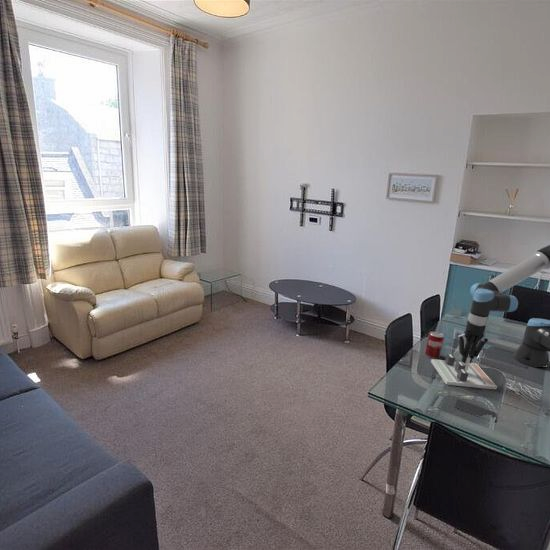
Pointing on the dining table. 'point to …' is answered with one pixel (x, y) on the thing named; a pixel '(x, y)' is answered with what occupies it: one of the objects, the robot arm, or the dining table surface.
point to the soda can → (434, 344)
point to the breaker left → (450, 359)
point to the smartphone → (473, 408)
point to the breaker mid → (459, 366)
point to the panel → (473, 380)
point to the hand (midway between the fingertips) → (464, 368)
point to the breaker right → (462, 375)
